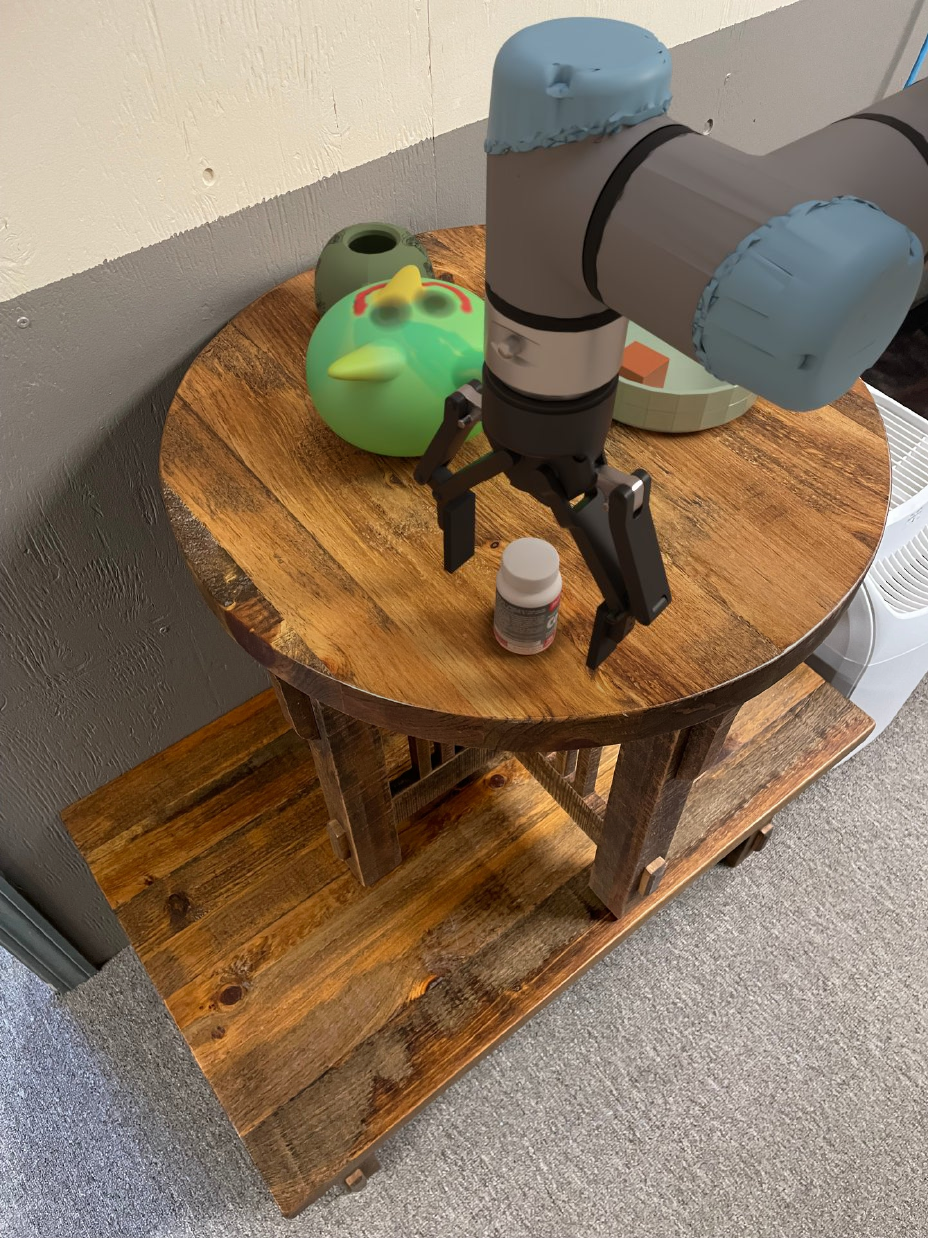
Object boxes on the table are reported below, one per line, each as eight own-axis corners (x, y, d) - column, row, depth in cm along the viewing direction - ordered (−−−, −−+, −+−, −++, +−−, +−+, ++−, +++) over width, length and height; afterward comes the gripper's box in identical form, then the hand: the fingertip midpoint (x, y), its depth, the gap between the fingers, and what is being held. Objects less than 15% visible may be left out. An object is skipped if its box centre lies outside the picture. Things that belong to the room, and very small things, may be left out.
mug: (325, 282, 96) (315, 204, 89) (441, 285, 96) (440, 207, 89) (304, 370, 86) (291, 291, 79) (434, 373, 86) (432, 294, 79)
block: (662, 393, 83) (670, 358, 80) (636, 412, 81) (643, 377, 78) (628, 375, 84) (635, 340, 81) (603, 394, 83) (608, 358, 79)
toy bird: (487, 368, 86) (492, 224, 75) (532, 482, 76) (546, 336, 65) (307, 392, 84) (283, 247, 72) (329, 513, 74) (305, 368, 62)
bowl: (795, 369, 86) (811, 325, 82) (692, 467, 78) (704, 423, 74) (636, 297, 94) (644, 254, 90) (525, 379, 85) (529, 334, 81)
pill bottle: (557, 656, 65) (567, 584, 58) (493, 656, 65) (497, 584, 58) (553, 607, 68) (563, 533, 61) (493, 606, 68) (496, 532, 61)
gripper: (343, 305, 50) (372, 552, 67) (712, 506, 40) (637, 738, 57) (430, 254, 54) (437, 501, 70) (790, 427, 44) (698, 667, 60)
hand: (527, 607), depth 64 cm, fingers open, 13 cm apart
